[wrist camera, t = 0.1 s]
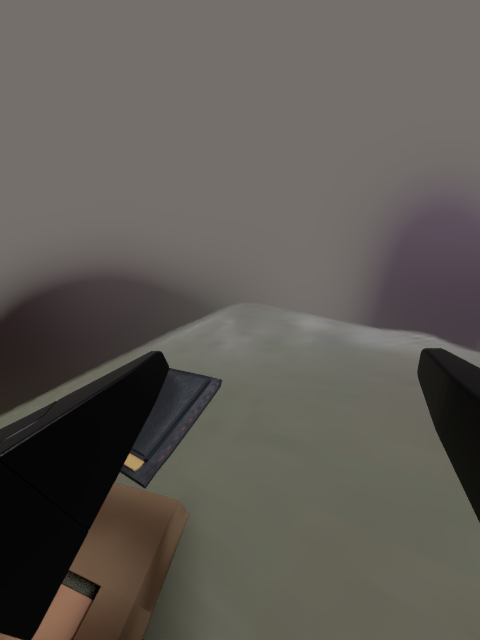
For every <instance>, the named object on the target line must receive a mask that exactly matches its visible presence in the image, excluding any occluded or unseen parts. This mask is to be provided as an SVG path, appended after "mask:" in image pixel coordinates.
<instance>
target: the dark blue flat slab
mask: <svg viewBox="0 0 480 640" xmlns="http://www.w3.org/2000/svg"><path fill="white" fill-rule="evenodd" d="M221 382H222V380H220V379H216V378H212V377H208V376H204V375H199V374H195V373H190V372H185V371H180V370H176V369H171V368H169V372H168V374H167V377H166V379H165V382H164V384H163V386H162V389H161V391H160V394H159V396H158V399H157V401H156V403H155V405H154V407H153V409H152V411H151V413H150V415H149V417H148V419H147V421H146V423H145V425H144V427H143V428H142V430H141V432H140V434H139V436H138V438H137V440H136V442H135V444H134V446H133V448H132V450H131V451H130V453H129V455H128V457H127V459H126V461H125V463H124V465H123V467H122V469H121V471H120V472H121V473H123V474H124V475H126V476H127V477H129V478H130V479H132V480H133V481H135V482H136V483H138V484H139V485H141V486H142V487H144V488H146V487H147V485H148V484H149V482H150V481H151V480H152V478H153V477H154V476H155V474H156V473H157V471H158V470H159V469H160V468H161V467H162V465H163V464H164V463H165V462H166V460H167V459H168V458H169V457H170V455H171V454H172V453H173V451H174V450H175V449H176V447H177V446H178V445H179V443H180V442H181V440H182V439H183V438H184V436H185V435H186V434H187V432H188V431H189V430H190V428H191V427H192V426H193V424H194V423H195V421H196V420H197V419H198V417H199V416H200V415H201V413H202V412H203V410H204V409H205V408H206V406H207V405H208V404H209V402H210V401H211V400H212V398H213V397H214V395H215V394H216V392H217V391H218V389H219V388H220V387H221Z"/></svg>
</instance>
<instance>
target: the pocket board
mask: <svg viewBox="0 0 480 640" xmlns="http://www.w3.org/2000/svg"><path fill="white" fill-rule="evenodd" d="M188 516H189V514H188V513H187V511H186V510H185V509H184V507H183V506H182V505H181V503H180V502H179V500H177V499H173V498H170V497H166V496H162V495H159V494H155V493H151V492H148V491H144V490H140V489H137V488H133V487H129V486H126V485H122V484H118V483H115V482H114V484H113V486H112V488H111V490H110V492H109V494H108V495H107V497H106V499H105V501H104V503H103V505H102V507H101V509H100V511H99V513H98V515H97V517H96V518H95V520H94V522H93V524H92V526H91V528H90V530H88V531H89V532H88V534H87V536H86V538H85V540H84V542H83V544H82V546H81V548H80V550H79V552H78V553H77V555H76V557H75V559H74V561H73V563H72V565H71V567H70V569H69V571H70V572H72V573H74V574H76V575H78V576H80V577H81V578H83V579H85V580H87V581H89V582H91V583H93V584H95V585H97V586H99V587H101V588H100V589H99V591H98V593H97V595H96V597H95V599H94V601H93V603H92V605H91V607H90V608H89V610H88V612H87V614H86V616H85V618H84V620H83V622H82V624H81V626H80V627H79V629H78V631H77V633H76V635H75V637H74V639H73V640H142V638H143V636H144V633H145V630H146V628H147V625H148V622H149V620H150V617H151V614H152V612H153V609H154V606H155V604H156V601H157V598H158V596H159V593H160V590H161V588H162V585H163V582H164V580H165V577H166V574H167V572H168V569H169V567H170V564H171V561H172V559H173V556H174V553H175V551H176V548H177V545H178V543H179V540H180V537H181V535H182V532H183V529H184V527H185V524H186V521H187V519H188Z"/></svg>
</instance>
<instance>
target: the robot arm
mask: <svg viewBox="0 0 480 640" xmlns="http://www.w3.org/2000/svg"><path fill="white" fill-rule="evenodd" d="M168 372H169V365H168V363H167V361H166V359H165V357H164V355H163V353H162V352H161V351H151V352H149V353H147V354H145V355H143V356H141V357H139V358H137V359H135V360H134V361H132V362H130V363H128V364H126V365H124V366H122V367H120V368H118V369H116V370H114V371H113V372H111V373H109V374H107V375H105V376H103V377H101V378H99V379H97V380H95V381H93V382H92V383H90V384H88V385H86V386H84V387H82V388H80V389H78V390H76V391H74V392H72V393H70V394H69V395H67V396H65V397H63V398H61V399H59V400H58V401H55V402H53V403H51V404H49V405H47V406H46V407H44V408H42V409H40V410H38V411H36V412H34V413H32V414H30V415H28V416H26V417H24V418H22V419H20V420H18V421H16V422H14V423H12V424H10V425H8V426H6V427H4V428H2V429H0V633H1V634H4V635H8V636H11V637H14V638H18V639H21V640H32V638H33V637H34V635H35V633H36V632H37V630H38V628H39V626H40V624H41V623H42V621H43V619H44V617H45V615H46V613H47V611H48V609H49V607H50V605H51V603H52V601H53V600H54V598H55V596H56V594H57V592H58V590H59V588H60V586H61V584H62V582H63V580H64V578H65V577H66V575H67V573H68V571H69V569H70V567H71V565H72V563H73V561H74V559H75V557H76V555H77V553H78V552H79V550H80V548H81V546H82V544H83V542H84V540H85V538H86V536H87V534H88V532H89V531H88V530H90V528H91V526H92V524H93V522H94V520H95V518H96V517H97V515H98V513H99V511H100V509H101V507H102V505H103V503H104V501H105V499H106V497H107V495H108V494H109V492H110V490H111V488H112V486H113V484H114V482H115V480H116V478H117V476H118V474H119V473H120V471H121V469H122V467H123V465H124V463H125V461H126V459H127V457H128V455H129V453H130V451H131V450H132V448H133V446H134V444H135V442H136V440H137V438H138V436H139V434H140V432H141V430H142V428H143V427H144V425H145V423H146V421H147V419H148V417H149V415H150V413H151V411H152V409H153V407H154V405H155V403H156V401H157V399H158V396H159V394H160V391H161V389H162V386H163V384H164V382H165V379H166V377H167V374H168ZM417 374H418V379H419V382H420V385H421V388H422V391H423V394H424V397H425V400H426V403H427V406H428V409H429V412H430V415H431V418H432V421H433V424H434V426H435V429H436V431H437V434H438V436H439V438H440V440H441V443H442V445H443V447H444V449H445V451H446V453H447V455H448V457H449V459H450V461H451V464H452V466H453V468H454V470H455V472H456V474H457V476H458V478H459V480H460V482H461V484H462V487H463V489H464V491H465V493H466V495H467V497H468V499H469V501H470V503H471V505H472V508H473V510H474V512H475V514H476V516H477V518H478V520H479V522H480V368H479V367H477V366H475V365H473V364H471V363H469V362H467V361H465V360H463V359H462V358H460V357H458V356H456V355H454V354H452V353H450V352H448V351H446V350H444V349H442V348H425V349H423V350H422V351H421V355H420V360H419V365H418V371H417Z"/></svg>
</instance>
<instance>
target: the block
mask: <svg viewBox="0 0 480 640" xmlns="http://www.w3.org/2000/svg"><path fill="white" fill-rule="evenodd" d="M93 601H94V600H93V599H91V598H89V597H87V596H85V595H84V594H82V593H80V592H78V591H76V590H74V589H73V588H71V587H69V586H67V585H65V584H63V583H62V584H61V586H60V588H59V590H58V592H57V594H56V596H55V598H54V600H53V601H52V603H51V605H50V607H49V609H48V611H47V613H46V615H45V617H44V619H43V621H42V623H41V624H40V626H39V628H38V630H37V632H36V633H35V635H34V637H33V638H32V640H73V639H74V637H75V635H76V633H77V631H78V629H79V627H80V626H81V624H82V622H83V620H84V618H85V616H86V614H87V612H88V610H89V608H90V607H91V605H92V603H93ZM0 640H21V639H18V638H14V637H11V636H8V635H4V634H1V633H0Z"/></svg>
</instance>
